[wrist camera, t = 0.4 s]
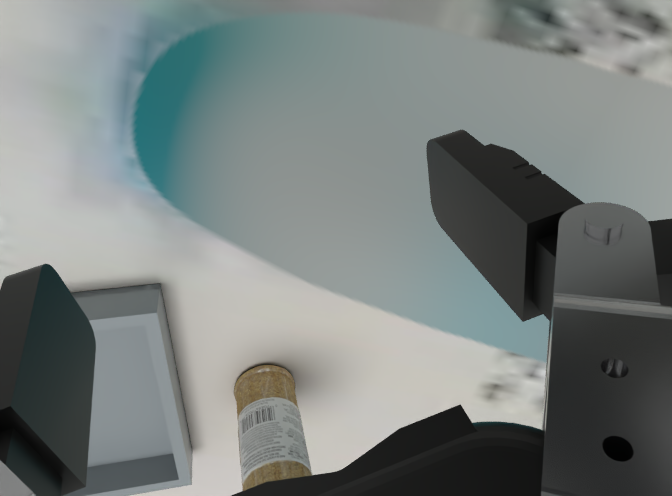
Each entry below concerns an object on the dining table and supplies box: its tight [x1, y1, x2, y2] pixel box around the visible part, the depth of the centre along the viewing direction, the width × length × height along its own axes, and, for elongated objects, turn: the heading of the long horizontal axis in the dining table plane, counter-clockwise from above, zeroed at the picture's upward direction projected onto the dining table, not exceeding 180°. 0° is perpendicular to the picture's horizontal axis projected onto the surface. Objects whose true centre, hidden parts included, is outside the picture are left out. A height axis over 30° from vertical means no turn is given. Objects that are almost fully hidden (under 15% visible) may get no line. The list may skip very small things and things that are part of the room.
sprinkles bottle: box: [234, 365, 312, 491], centre depth 35 cm, size 5×5×14 cm
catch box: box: [63, 284, 192, 496], centre depth 36 cm, size 16×12×3 cm
